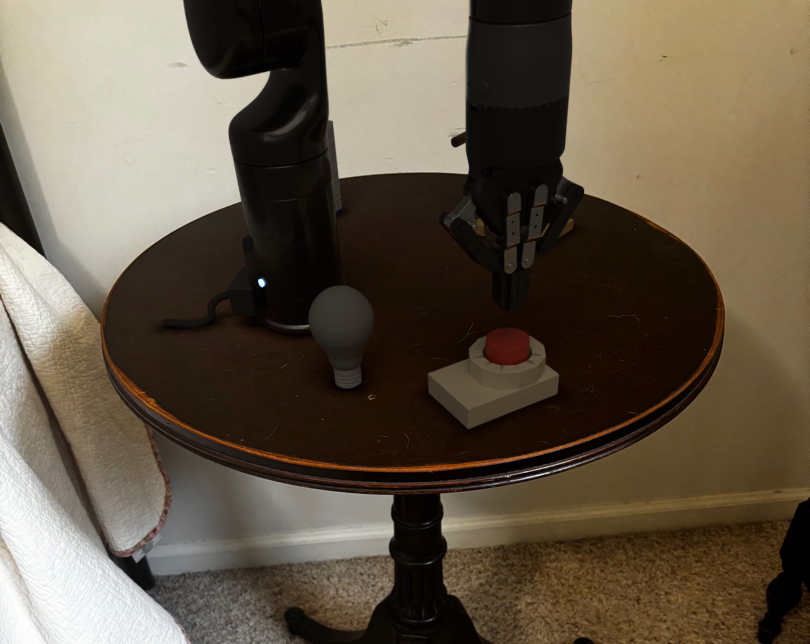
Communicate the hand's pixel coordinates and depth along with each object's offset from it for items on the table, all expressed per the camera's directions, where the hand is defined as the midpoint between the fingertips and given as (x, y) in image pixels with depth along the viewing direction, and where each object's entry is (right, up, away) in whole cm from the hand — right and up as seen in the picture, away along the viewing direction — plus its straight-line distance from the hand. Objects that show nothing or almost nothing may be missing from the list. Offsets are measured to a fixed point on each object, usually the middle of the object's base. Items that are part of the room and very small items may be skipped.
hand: (509, 306), depth 70 cm
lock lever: (+2, +27, +26) cm, 38 cm away
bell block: (-1, -6, +6) cm, 9 cm away
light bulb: (-15, -5, +8) cm, 18 cm away
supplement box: (-21, +23, +38) cm, 49 cm away
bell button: (0, -3, +4) cm, 5 cm away
